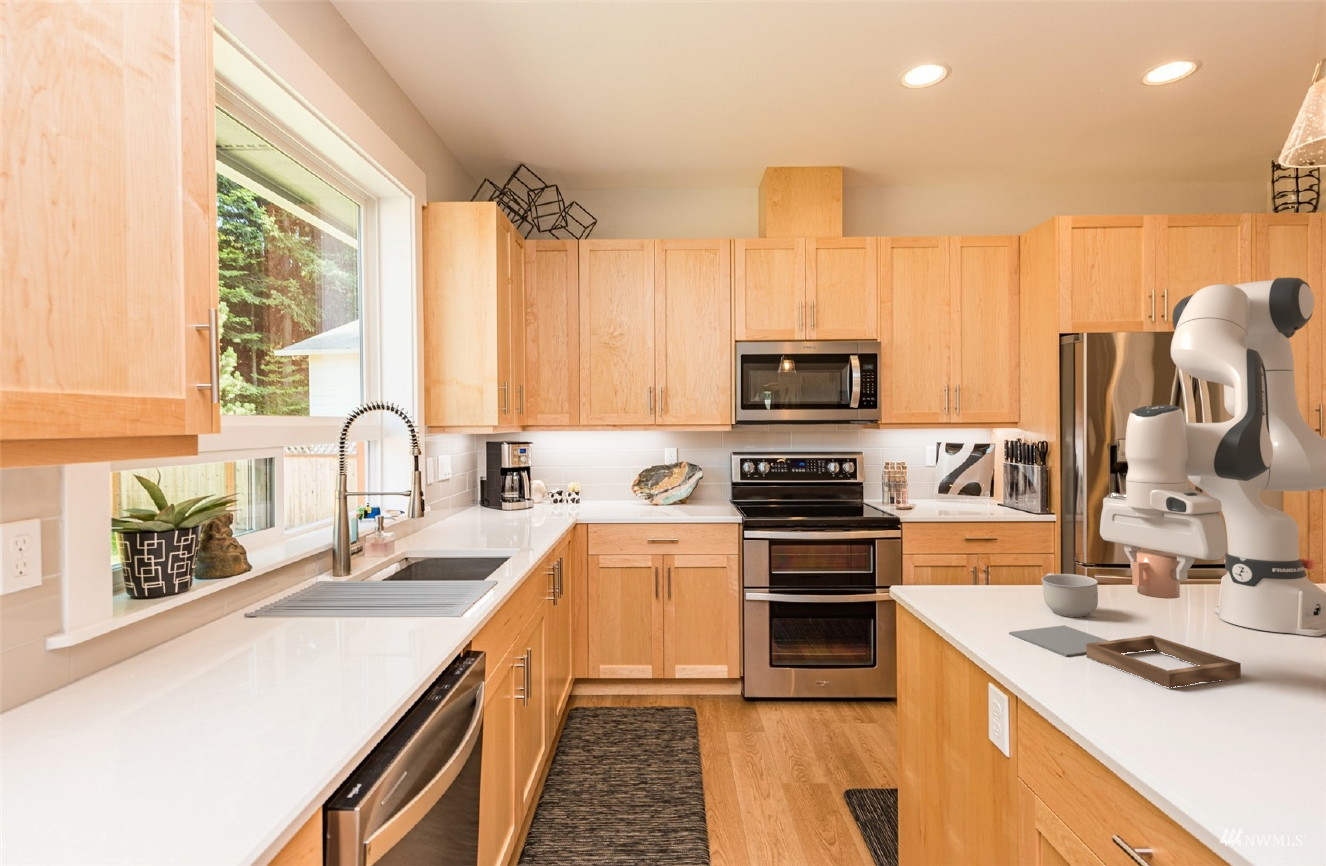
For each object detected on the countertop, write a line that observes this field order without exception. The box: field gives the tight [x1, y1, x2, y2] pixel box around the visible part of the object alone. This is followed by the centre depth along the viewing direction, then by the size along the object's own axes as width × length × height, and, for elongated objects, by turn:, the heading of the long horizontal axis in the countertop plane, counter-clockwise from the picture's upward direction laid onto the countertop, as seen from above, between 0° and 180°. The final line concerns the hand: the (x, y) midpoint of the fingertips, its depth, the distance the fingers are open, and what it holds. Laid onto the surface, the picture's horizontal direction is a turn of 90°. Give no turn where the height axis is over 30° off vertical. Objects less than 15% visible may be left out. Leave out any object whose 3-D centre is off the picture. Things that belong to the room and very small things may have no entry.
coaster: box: [1008, 625, 1109, 658], centre depth 129 cm, size 14×14×1 cm
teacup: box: [1041, 572, 1099, 618], centre depth 149 cm, size 14×11×8 cm
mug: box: [1131, 550, 1181, 600], centre depth 114 cm, size 8×6×7 cm
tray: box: [1085, 634, 1242, 688], centre depth 115 cm, size 15×15×2 cm
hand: (1158, 575), depth 115 cm, fingers closed on mug, 6 cm apart
